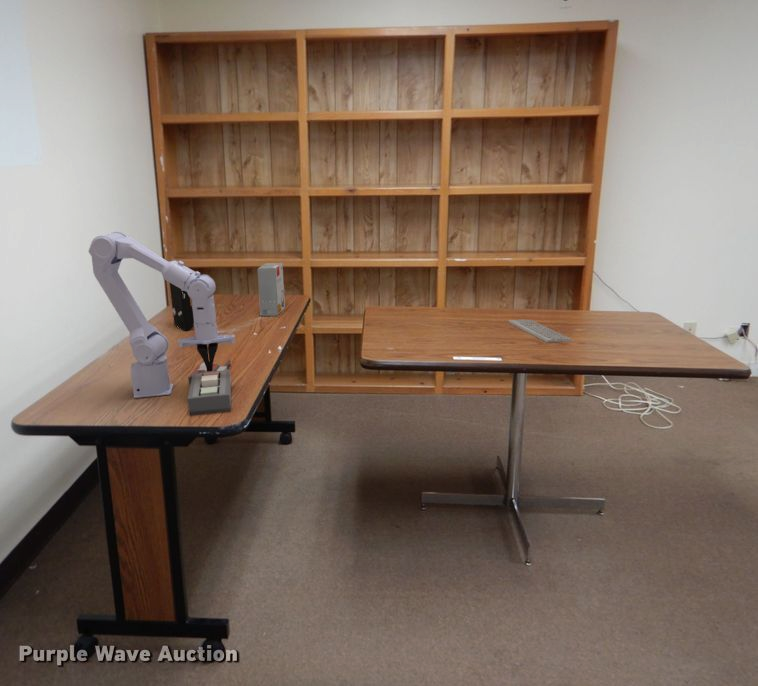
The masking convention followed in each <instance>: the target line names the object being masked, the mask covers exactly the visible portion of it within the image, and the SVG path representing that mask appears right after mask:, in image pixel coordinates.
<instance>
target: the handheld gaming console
mask: <svg viewBox="0 0 758 686" xmlns="http://www.w3.org/2000/svg"><path fill="white" fill-rule="evenodd" d="M169 287H170V288H169V290H170V297H171V298H170V299H171V307H172V308H171V309H172V310H171V311H172V317H173V323H174V324H173V325H174V326H175V327H177V326H178V327H179V328H178V327H177V328H178V329H180V328H181V329H180V330H182V329H183V330H182V331H191V330H192V329H193V327H194V317H193V308H192V305H191V304H192V302H191V298H190V297H189V295H188V293H187V291H184V290H182V289H180V288H179V287H177V286H175V285H173V284H172V283H170V282H169Z"/></svg>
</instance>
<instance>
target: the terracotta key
mask: <svg viewBox="0 0 758 686" xmlns="http://www.w3.org/2000/svg"><path fill="white" fill-rule="evenodd" d="M208 375H218V378H219V372H212V373H204V374H203V376H208ZM218 384H219V386H220V383H218Z"/></svg>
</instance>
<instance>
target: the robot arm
mask: <svg viewBox="0 0 758 686" xmlns="http://www.w3.org/2000/svg"><path fill="white" fill-rule="evenodd" d="M88 253H89V255H90V257H91V261H92V262H91V263H92V271H93V275H94V277H95V279H96V281H97V282H98V284H99V286H100V287H101V288H102V290H103V292H104V293H105V294H106V296H107V298H108V300H109V302H110V303H111V304H112V306H113V308H114V310H115V311H116V313H117V314H118V316H119V318H120V320H121V321H122V322H123V324H124V325H125V327H126V329H127V330H128V332H129V341H128V342H129V345H130V346H131V348H132V354H133V357H134V359H135V360H136V362H135V361H134V362H131V363H130V364H131V365H130V379H131V385H132V390H133V398H135V399H138V398H139V399H140V398H148V397H159V396H168V395H171V394H172V390H173V387H174V384H173V383H171V382H170V375H169V366H168V359H167V358H168V357H167V355H166V353H167V351H168V350H169V347H170V346H169V340H168V338H167V337H166V336H165V335H164V334H162V332H160V331H159V330H158V329H157V327H156V326H154V325H152V324H151V323H149V322H148V320H147V318H146V317H145V315H144V313H143V311H142V310H141V308H140V306H139V305H138V304H137V301H136V300H135V298H134V296H133V295H132V293H131V292H130V289H129V288H128V286H127V285H126V283H125V282H124V280H123V278H122V277H121V275H120V273H119V269H120V266H121V264H122V263H121V262H122V261H123V259H124V260H125V259H134V260H135V261H137V262H140V263H142V264H143V265H145V266H148V267H149V268H151V269H153V270H155V271H158V272H159V273H161V275H162V278H163V280H164V281H167V282H168V283H169V284H170V283H172V284H173V285H175V286H177V287H179V288H180V289H182V290H184V291H187V293H188V295H189V297H190V300H191V304H192V305H191V306H192V309H193V317H194V325H193V327H194V333H195V336H190V337H184V338H183V337H182V338H178V340H177V341H178V349H179V348H184V347H195V346H196V350H197V353H199V355H200V357H201V358H202V361H203V362H204V363H205V365H206V368H207V371H213V364H214V359H215V356H216V354H217V351H218V348H219V347H218V346H219V344H236V336H235V334H218V326H217V315H216V306H215V305H216V304H215V298H214V297H215V296H214V293H215V291H216V289H217V286H216V281H215V280H214V279H213V277H211V276H210V275H208V274H201V272H199V271H198V270H197V271H195V270H193V269H191V268H190V267H187V266H186V265H185V262H183V261H182V260H179V261H177V260H171V261H168V260H167V259H165V258H163V256H162V257H161V256H160V255H158V254H157V253H155V252H154V251H152V250H151V249H149V248H147V247H146V246H144V245H143V244H141V243H140V242H138V241H136V240H135V238H133V237H131V236H129V235H128V236H127V235H126V234H125V233H123V232H121V231H114V232H111V233H108V234H105V235H103V234H102V235H101V234H100V235H97V236H96V237H94V238H93V239H92V241H91V244H90V246H89V248H88Z"/></svg>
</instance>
